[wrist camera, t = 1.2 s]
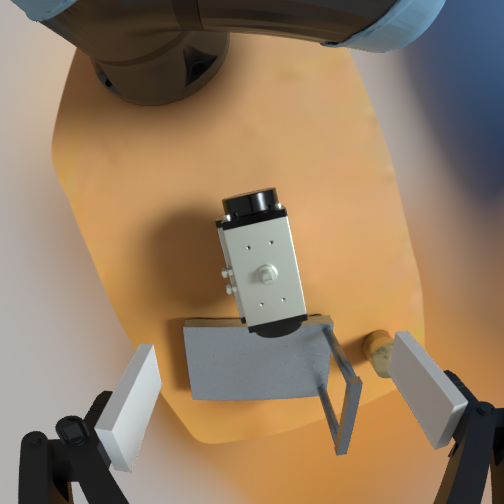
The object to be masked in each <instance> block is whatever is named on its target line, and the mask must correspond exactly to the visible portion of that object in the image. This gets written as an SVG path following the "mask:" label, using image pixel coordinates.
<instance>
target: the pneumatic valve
mask: <svg viewBox="0 0 504 504" xmlns="http://www.w3.org/2000/svg"><path fill="white" fill-rule="evenodd" d="M222 204H223V208H224V212H225V215H223V216H219V217H218V218H217V219H216V221H215V222H216V226H217V230H218V234H219V238H220V242H221V246H222V250H223V254H224V258H225V262H226V266H227V270H226V268H225V267H223V268H221V272H222V276H223V278H228V274H229V277H230V281H231V285H232V287H231V285H230V284H227V285H226V291H227V294H228V295H230V294H232V291H233V292H234V296H235V300H236V304H237V307H238V311H239V315H240V319H241V322H242V324H245V323H247V327H248V330H249V333H254V332H255V333H256V334H257V335H258V336H260V337H263V338H278V337H283V336H286V335H289V334H291V333H293V332H295V331H296V330H298V329H299V328H300V327H301V325H302V323H303V321H307V320H308V317H307V312H306V306H305V301H304V296H303V290H302V285H301V280H300V275H299V270H298V265H297V260H296V255H295V250H294V245H293V240H292V235H291V230H290V225H289V221H288V216H287V211H286V208H285V207H284V206H283V205H282V204H281V203H279V201H278V197H277V192H276V188H274V187H273V188H266V189H261V190H256V191H251V192H247V193H243V194H239V195H235V196H231V197H228V198H225V199H222Z"/></svg>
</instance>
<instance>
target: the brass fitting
mask: <svg viewBox="0 0 504 504" xmlns="http://www.w3.org/2000/svg"><path fill="white" fill-rule="evenodd" d="M393 344H394V339H393V338H392V337H391V336H390V334H389V333H388V332H387V331H385V330H376V331H373V332H371V333H370V334H369V335H368V336H367V337H366V338H365V340H364V342H363V345H362V349H363V352H364V354H365V355H366V357H367V359H368V360H369V362H370V363H371V365H372V366H373V368H374V370H375V371H376V373H377V374H378V376H380V377H382V378H391V377H390V375H389V374H388V368H389V364H390V359H391V354H392V349H393Z"/></svg>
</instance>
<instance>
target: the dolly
mask: <svg viewBox="0 0 504 504" xmlns="http://www.w3.org/2000/svg"><path fill="white" fill-rule="evenodd" d="M333 324H334V323H333V321H332V319H331V318H330V316H329V315H328V316H322V315H320V314H315V315H313V316H310V317H308V320H307V321H303V323H302V325H301V327H300V328H299V329H298V330H296V331H295V332H293V333H291V334H289V335H286V336H283V337H278V338H263V337H260V336H258V335H257V334H256V333H255V332H254V333H249V330H248V327H247V323H245V324H242V322H241V319H203V318H199V317H197V318H194V319H186V321H185V323H184V326H183V333H184V341H185V349H186V357H187V364H188V371H189V378H190V385H191V392H192V398H193V400H269V399H288V398H302V397H314V396H320V400H321V403H322V406H323V409H324V412H325V415H326V419H327V421H328V425H329V428H330V431H331V435H332V438H333V441H334V444H335V452H336V455H343V454H347V450H348V446H349V442H350V438H351V434H352V430H353V426H354V422H355V417H356V412H357V408H358V404H359V399H360V394H361V389H362V384H363V383H362V381H361V379H360V377H359V376H358V377H357V376H356V374H355V372H354V370H353V369H352V367H351V365H350V363H349V361H348V359H347V357H346V355H345V353H344V352H343V350H342V348H341V346H340V344H339V342H338V340H337V338H336V337H335V335H334V333H333ZM331 351H332V353H333V355H334V357H335V359H336V361H337V364H338V366H339V368H340V370H341V372H342V374H343V377H344V379H345V381H346V383H347V385H346V391H345V397H344V403H343V408H342V414H341V419H340V424H339V425H338V422H337V419H336V416H335V413H334V410H333V407H332V405H331V402H330V399H329V396H328V393H327V382H328V374H329V365H330V356H331Z"/></svg>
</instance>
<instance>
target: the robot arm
mask: <svg viewBox="0 0 504 504" xmlns="http://www.w3.org/2000/svg"><path fill="white" fill-rule="evenodd" d="M11 1H12V2H13V3H15V4H16V5H17V6H18V7H19V8H21V9H22V10H23V11H24V12H25V13H26V15H27V17H28V18H29V19H31V20H33V21H36V22H37V21H39V22H40V23H41V24H43V25H45V26H46V27H48V28H49V29H51V30H53V31H54V32H55V33H57V34H59V35H60V36H62V37H63V38H64V39H66V40H68V41H69V42H70V43H72V44H73V45H75V46H76V47H78V48H79V49H81V50H82V51H83V52H85V53H86V54H88V55H89V56H90V57H91V60H92V63H93V66H94V69H95V72H96V74H97V76H98V78H99V80H100V81H101V82H102V84H103V85H104V86H105V87H106V88H107V89H108V90H109V91H110V92H112V93H113V94H115V95H117V96H118V97H120V98H122V99H123V100H125V101H128V102H130V103H134V104H138V105H147V106H155V105H163V104H168V103H172V102H175V101H178V100H181V99H183V98H185V97H187V96H189V95H191V94H193V93H194V92H196V91H197V90H199V89H200V88H202V87H203V86H204V85H205V84H206V83H207V82H208V81H210V80H211V78H212V77H213V76H214V75H215V74H216V73H217V71H218V70H219V68H220V67H221V65H222V63H223V61H224V59H225V57H226V54H227V51H228V47H229V32H231V33H247V34H258V35H268V36H277V37H285V38H292V39H299V40H305V41H311V42H317V43H320V44H321V45H322V46H326V47H331V48H337V47H347V48H353V49H358V50H363V51H367V52H373V53H385V52H388V51H390V50H395V49H400V48H402V47H404V46H406V45H408V44H409V43H411V42H412V41H414V40H415V39H416V38H417V37H419V36H420V35H421V34H422V33H423V32H424V31H425V30H426V29H427V28H428V27H429V26H430V24H431V23H432V22H433V21H434V19H435V18H436V16H437V15H438V13H439V12H440V10H441V8H442V7H443V5H444V3H445V1H446V0H11ZM388 374H389V375H390V377H391V378H392V380H393V382H394V383H395V385H396V386H397V388H398V390H399V391H400V393H401V394H402V396H403V398H404V399H405V401H406V403H407V404H408V406H409V408H410V409H411V411H412V413H413V414H414V416H415V418H416V419H417V421H418V423H419V424H420V426H421V428H422V429H423V431H424V433H425V434H426V436H427V437H428V439H429V441H430V443H431V445H432V446H433V448H434V449H438V448H441V447H444V446H447V445H448V444H449V442H450V440H451V438H452V437H453V438H454V440H455V441H456V442H455V444H454V446H453V448H452V450H451V452H450V453H449V455H448V457H450V459H449V462H448V465H447V468H446V471H445V474H444V477H443V480H442V482H441V485H440V488H439V491H438V493H437V496H436V498H435V501H434V503H433V504H481V500H482V496H483V492H484V488H485V484H486V479H487V474H488V469H489V464H490V469H491V485H492V504H504V408H495V407H494V406H493V405H492V404H490V403H488V402H483V401H481V402H479V401H478V400H477V399H476V397H475V396H474V395H473V394H472V393H471V392H470V390H469V389H468V388H467V387H466V386H465V385H464V384H463V383H462V382H461V380H460V379H459V378H458V377H457V376H456V374H454V373H452V372H450V371H449V370H446V371H442V370H441V369H440V367H439V366H438V365H437V364H436V363H435V362H434V360H433V359H432V358H431V357H430V356H429V355H428V353H427V352H426V351H425V350H424V349H423V348H422V347H421V345H420V344H419V343H418V342H417V341H416V340H415V339H414V338H413V336H412V335H411V334H410V333H409V332H408V331H401V332H396V333H395V338H394V344H393V349H392V354H391V359H390V364H389V368H388ZM161 385H162V383H161V379H160V374H159V370H158V365H157V360H156V355H155V351H154V346H153V344H140V345H139V346H138V348H137V350H136V352H135V354H134V355H133V357H132V359H131V361H130V362H129V364H128V366H127V368H126V370H125V371H124V373H123V375H122V377H121V379H120V381H119V382H118V384H117V386H116V388H115V390H114V392H112V391H103V392H102V393H101V394H99V395H98V396H97V397H96V399H95V401H94V402H93V405H92V406H91V408H90V411H88V413H87V415H86V416H85V418H84V420H82V418H80V417H78V416H66V417H64V418H62V419H60V420H59V421H58V422H57V424H56V427H55V428H56V432H57V434H58V436H59V438H60V439H53V440H48V438H47V437H46V435H45V434H44V433H42V432H40V431H33V432H30V433H28V434H26V435H25V436H24V437H23V439H22V442H21V451H20V465H19V490H18V491H19V492H18V504H74V502H73V495H72V487H71V482H79V484H80V486H81V488H82V491H83V493H84V495H85V497H86V499H87V501H88V503H89V504H129V503H128V501H127V499H126V498H125V496H124V495H123V493H122V491H121V490H120V488H119V486H118V485H117V483H116V482H115V480H114V478H113V476H112V475H111V473H110V471H109V466H110V464H111V463H112V465H113V467H114V469H115V470H119V471H124V472H130V473H131V472H132V469H133V466H134V463H135V460H136V457H137V454H138V451H139V448H140V445H141V442H142V439H143V437H144V433H145V431H146V428H147V425H148V422H149V419H150V416H151V413H152V411H153V408H154V405H155V402H156V399H157V397H158V394H159V391H160V388H161Z"/></svg>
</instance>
